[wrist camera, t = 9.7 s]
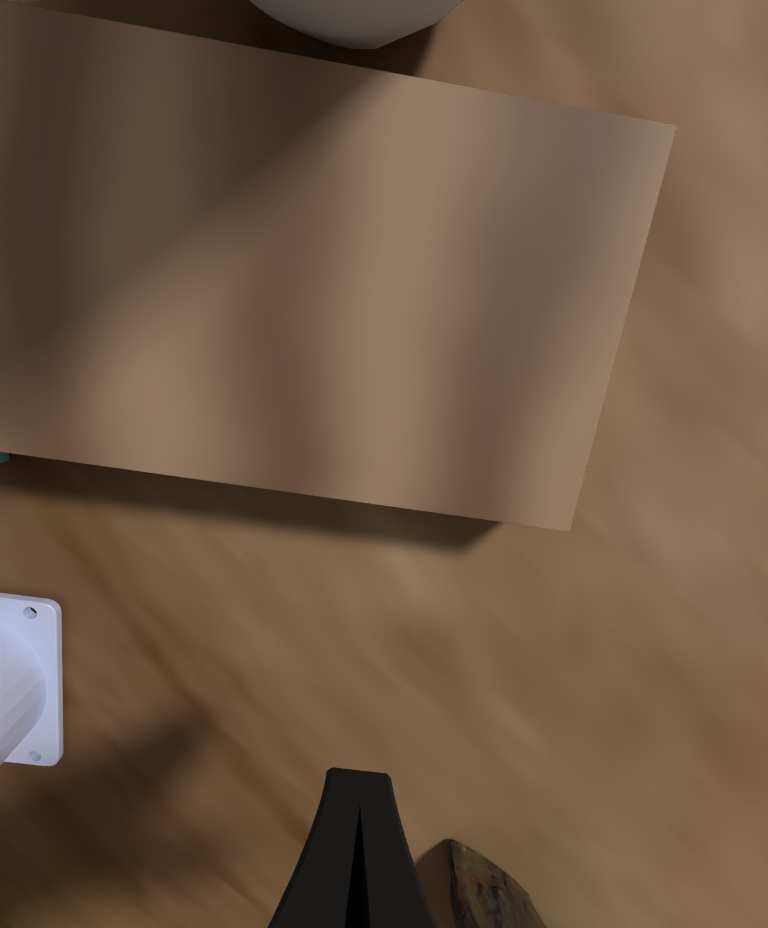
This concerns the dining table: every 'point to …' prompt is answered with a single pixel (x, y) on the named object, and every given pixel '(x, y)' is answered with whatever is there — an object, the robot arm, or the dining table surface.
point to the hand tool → (486, 894)
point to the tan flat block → (309, 270)
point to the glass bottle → (357, 19)
